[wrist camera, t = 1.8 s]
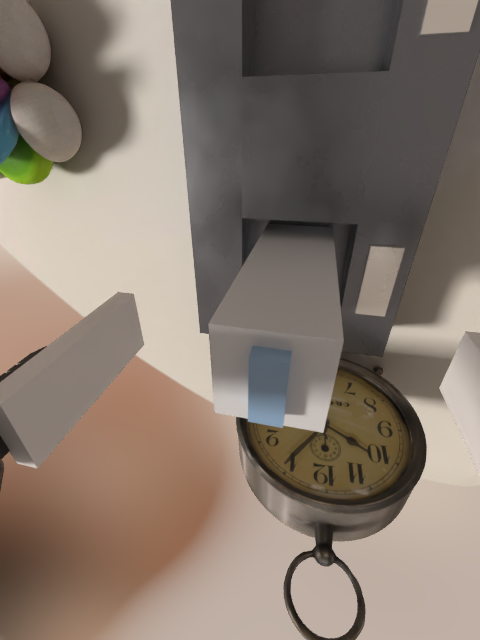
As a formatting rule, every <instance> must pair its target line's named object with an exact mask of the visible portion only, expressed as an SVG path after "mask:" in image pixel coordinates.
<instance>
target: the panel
mask: <svg viewBox="0 0 480 640" xmlns="http://www.w3.org/2000/svg"><path fill="white" fill-rule="evenodd" d="M171 10H172V21H173V32H174V43H175V55H176V66H177V77H178V88H179V99H180V111H181V122H182V133H183V144H184V156H185V167H186V178H187V189H188V200H189V212H190V223H191V234H192V245H193V257H194V268H195V279H196V290H197V301H198V313H199V324H200V333H206V334H209V326H208V323H209V322H210V320H211V318H212V317H213V315H214V313H215V312H216V310H217V308H218V307H219V305H220V303H221V302H222V300H223V298H224V297H225V295H226V293H227V292H228V290H229V288H230V286H231V285H232V283H233V281H234V280H235V278H236V276H237V275H238V273H239V271H240V270H241V268H242V266H243V265H244V263H245V261H246V260H247V258H248V256H249V255H250V253H251V251H252V249H253V248H254V246H255V244H256V243H257V241H258V239H259V238H260V236H261V234H262V233H263V231H264V229H265V228H266V226H267V224H281V225H299V226H317V227H333V234H334V244H335V254H336V265H337V275H338V286H339V296H340V306H341V317H342V327H343V338H344V342H343V347H342V351H341V352H348V353H355V354H363V355H370V356H378V357H382V356H383V353H384V350H385V347H386V344H387V341H388V338H389V334H390V331H391V328H392V325H393V322H394V319H395V315H396V312H397V309H398V306H399V303H400V300H401V297H402V293H403V290H404V287H405V284H406V281H407V278H408V275H409V271H410V268H411V265H412V262H413V259H414V256H415V253H416V249H417V246H418V243H419V240H420V237H421V234H422V230H423V227H424V224H425V221H426V218H427V215H428V212H429V208H430V205H431V202H432V199H433V196H434V193H435V190H436V186H437V183H438V180H439V177H440V174H441V171H442V168H443V164H444V161H445V158H446V155H447V152H448V149H449V145H450V142H451V139H452V136H453V133H454V130H455V127H456V123H457V120H458V117H459V114H460V111H461V108H462V105H463V101H464V98H465V95H466V92H467V89H468V86H469V83H470V79H471V76H472V73H473V70H474V67H475V64H476V60H477V57H478V54H479V51H480V0H171Z"/></svg>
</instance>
